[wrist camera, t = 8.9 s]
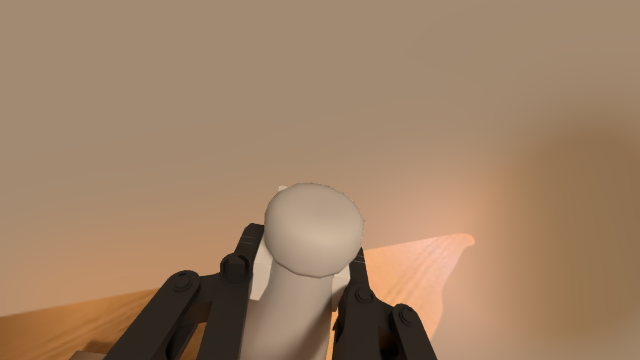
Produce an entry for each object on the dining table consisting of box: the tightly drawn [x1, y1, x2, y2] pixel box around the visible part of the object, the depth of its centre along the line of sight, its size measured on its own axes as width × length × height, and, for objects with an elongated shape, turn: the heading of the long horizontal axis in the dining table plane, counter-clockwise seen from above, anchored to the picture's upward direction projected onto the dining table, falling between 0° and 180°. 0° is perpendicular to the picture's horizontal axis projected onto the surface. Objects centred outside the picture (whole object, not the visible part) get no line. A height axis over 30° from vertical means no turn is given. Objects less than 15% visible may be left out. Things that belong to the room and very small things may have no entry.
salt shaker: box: [240, 183, 364, 360], centre depth 13 cm, size 6×6×13 cm
